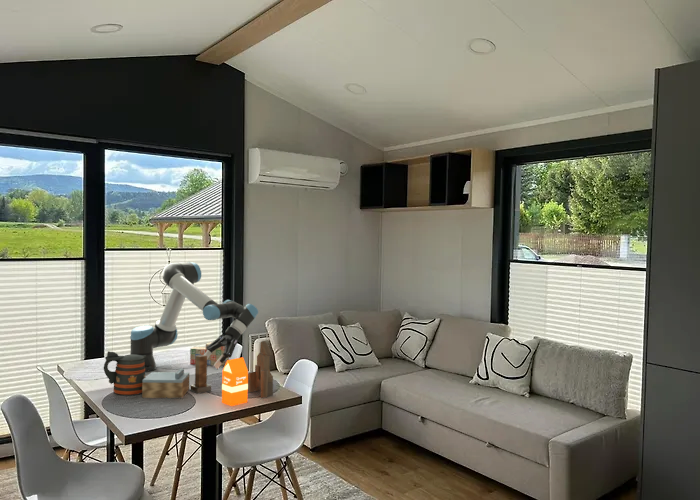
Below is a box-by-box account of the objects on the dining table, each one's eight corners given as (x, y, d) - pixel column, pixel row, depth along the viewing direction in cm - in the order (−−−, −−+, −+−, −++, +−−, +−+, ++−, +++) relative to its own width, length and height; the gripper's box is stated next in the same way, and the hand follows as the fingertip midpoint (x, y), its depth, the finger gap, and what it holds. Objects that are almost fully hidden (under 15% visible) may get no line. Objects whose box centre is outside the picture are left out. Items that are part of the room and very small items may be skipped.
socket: (197, 393, 255) (197, 388, 255) (190, 390, 260) (190, 385, 260) (211, 390, 260) (211, 385, 260) (203, 387, 265) (203, 382, 265)
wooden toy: (245, 390, 261) (246, 340, 261) (257, 388, 266) (258, 338, 265) (262, 398, 250) (264, 345, 249) (274, 395, 254) (276, 343, 254)
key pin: (198, 392, 257) (199, 357, 257) (195, 390, 260) (195, 355, 260) (206, 390, 260) (207, 355, 260) (202, 388, 263) (203, 354, 262)
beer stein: (106, 398, 244) (106, 355, 243) (101, 390, 256) (102, 349, 256) (149, 393, 254) (150, 351, 254) (143, 385, 267) (143, 345, 266)
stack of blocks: (189, 364, 311) (190, 343, 311) (193, 362, 318) (193, 341, 317) (225, 366, 310) (226, 344, 310) (229, 363, 316) (229, 342, 316)
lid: (142, 382, 246) (142, 374, 246) (151, 374, 260) (151, 367, 260) (182, 382, 248) (182, 374, 247) (189, 374, 262) (189, 367, 261)
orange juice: (247, 402, 244) (248, 358, 243) (231, 406, 237) (232, 361, 237) (237, 398, 249) (238, 355, 249) (221, 402, 243) (222, 358, 242)
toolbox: (142, 397, 247) (142, 382, 246) (151, 389, 261) (151, 374, 260) (182, 397, 248) (182, 382, 248) (189, 389, 262) (189, 375, 262)
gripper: (253, 338, 264) (226, 374, 254) (226, 331, 282) (200, 364, 272) (244, 329, 260) (216, 364, 250) (218, 322, 278) (191, 355, 268)
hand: (208, 364), depth 261 cm, fingers open, 13 cm apart
